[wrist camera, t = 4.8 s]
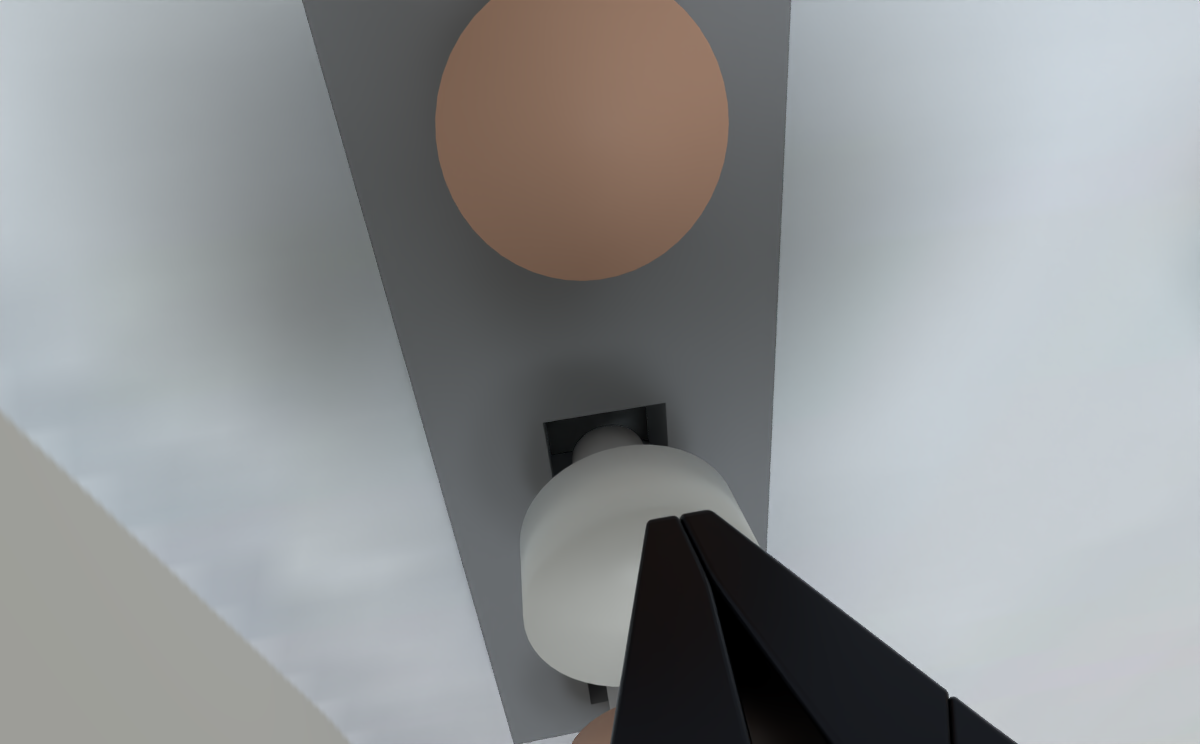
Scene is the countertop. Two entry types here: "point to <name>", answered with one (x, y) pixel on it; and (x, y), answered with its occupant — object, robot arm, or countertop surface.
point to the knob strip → (561, 309)
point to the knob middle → (604, 544)
